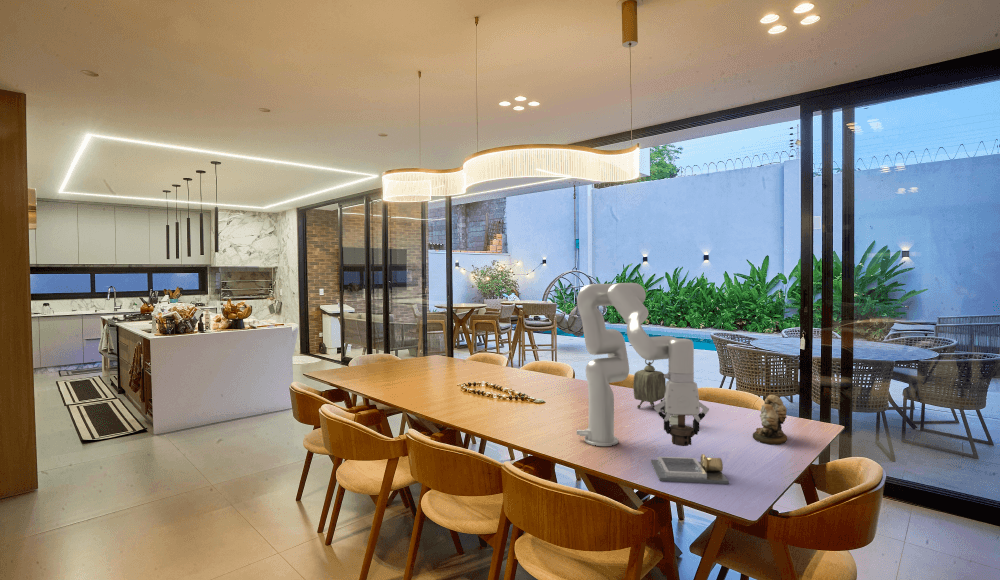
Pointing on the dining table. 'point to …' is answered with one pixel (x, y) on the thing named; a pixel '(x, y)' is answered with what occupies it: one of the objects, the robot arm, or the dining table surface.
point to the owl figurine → (772, 422)
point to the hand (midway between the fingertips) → (681, 432)
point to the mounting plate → (690, 470)
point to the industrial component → (681, 432)
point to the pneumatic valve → (673, 418)
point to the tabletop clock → (649, 385)
